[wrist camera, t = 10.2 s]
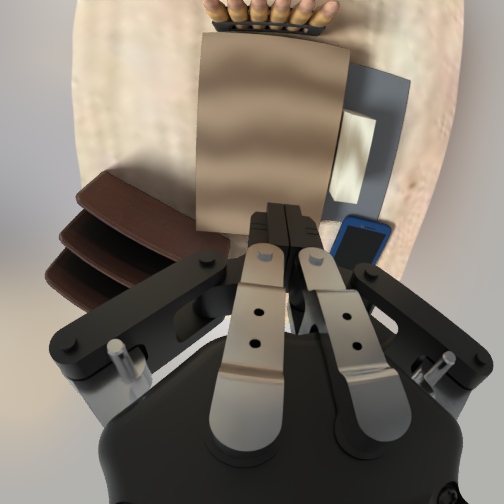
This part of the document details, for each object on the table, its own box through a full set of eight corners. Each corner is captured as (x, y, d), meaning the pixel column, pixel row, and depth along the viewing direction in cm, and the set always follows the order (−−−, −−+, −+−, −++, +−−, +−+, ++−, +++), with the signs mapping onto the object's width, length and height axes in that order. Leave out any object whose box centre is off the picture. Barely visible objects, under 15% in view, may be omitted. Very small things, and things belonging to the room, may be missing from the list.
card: (351, 114, 23) (376, 120, 23) (335, 107, 28) (356, 111, 28) (334, 200, 28) (356, 203, 28) (322, 179, 33) (342, 182, 33)
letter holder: (199, 284, 43) (181, 361, 32) (86, 224, 37) (36, 286, 26) (232, 239, 38) (220, 318, 27) (104, 169, 33) (41, 222, 21)
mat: (338, 60, 24) (339, 60, 24) (409, 80, 25) (410, 81, 25) (312, 217, 36) (312, 218, 36) (374, 225, 36) (375, 225, 36)
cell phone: (311, 291, 43) (312, 295, 42) (345, 213, 35) (346, 216, 34) (353, 297, 44) (354, 301, 43) (391, 225, 36) (393, 228, 35)
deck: (209, 37, 24) (202, 32, 20) (339, 52, 24) (350, 49, 21) (202, 214, 36) (196, 230, 33) (310, 224, 36) (315, 241, 33)
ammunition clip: (217, 32, 23) (192, 7, 13) (217, 17, 22) (193, -14, 12) (317, 36, 23) (350, 16, 13) (318, 22, 22) (350, -5, 12)
